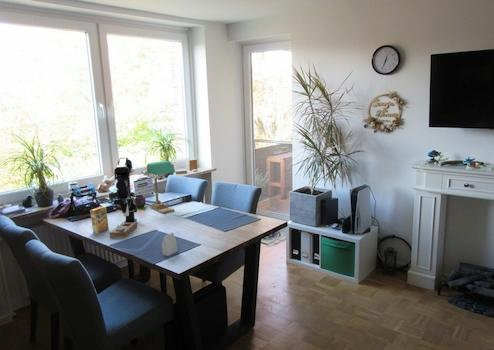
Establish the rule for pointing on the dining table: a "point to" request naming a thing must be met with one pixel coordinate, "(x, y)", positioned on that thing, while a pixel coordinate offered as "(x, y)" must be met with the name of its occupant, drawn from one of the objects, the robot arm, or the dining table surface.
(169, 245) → the tea bag
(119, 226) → the grey metal stub
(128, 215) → the cream dowel
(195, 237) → the dining table surface
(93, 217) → the candy box
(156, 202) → the banker's lamp
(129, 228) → the walnut socket block
